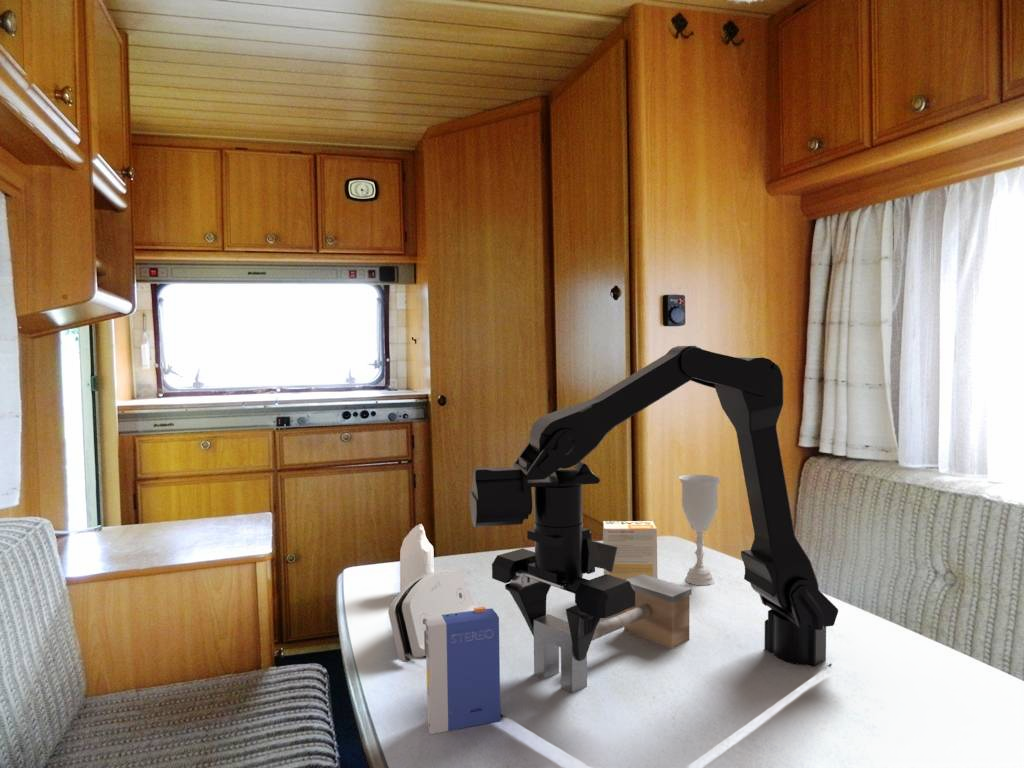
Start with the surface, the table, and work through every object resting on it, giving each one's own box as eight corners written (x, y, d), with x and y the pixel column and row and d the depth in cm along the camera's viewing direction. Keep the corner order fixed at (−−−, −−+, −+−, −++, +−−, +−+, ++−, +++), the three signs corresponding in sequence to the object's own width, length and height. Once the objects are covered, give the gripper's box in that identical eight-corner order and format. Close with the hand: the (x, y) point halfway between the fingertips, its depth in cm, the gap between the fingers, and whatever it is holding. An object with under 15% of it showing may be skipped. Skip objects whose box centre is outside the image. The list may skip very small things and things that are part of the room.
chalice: (670, 577, 121) (670, 476, 120) (700, 571, 124) (701, 473, 123) (698, 590, 114) (698, 483, 113) (729, 583, 117) (729, 480, 116)
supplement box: (654, 600, 110) (654, 520, 109) (658, 612, 105) (657, 528, 104) (603, 599, 110) (602, 519, 110) (604, 610, 106) (603, 527, 105)
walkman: (493, 708, 77) (492, 604, 76) (500, 721, 74) (499, 613, 74) (424, 721, 75) (422, 613, 74) (429, 734, 72) (427, 623, 71)
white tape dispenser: (431, 667, 87) (407, 591, 88) (401, 673, 89) (378, 599, 90) (486, 619, 103) (465, 555, 104) (460, 625, 104) (440, 562, 105)
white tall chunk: (391, 524, 113) (418, 518, 117) (393, 595, 113) (419, 586, 117) (414, 530, 109) (441, 523, 113) (415, 604, 109) (442, 595, 113)
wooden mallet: (641, 628, 99) (641, 573, 98) (691, 646, 92) (691, 588, 92) (555, 666, 87) (555, 605, 87) (605, 690, 81) (605, 624, 80)
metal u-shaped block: (587, 686, 80) (586, 629, 80) (572, 693, 78) (571, 635, 78) (548, 667, 85) (548, 613, 84) (534, 674, 83) (533, 619, 83)
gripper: (664, 523, 79) (665, 655, 80) (551, 498, 93) (552, 611, 94) (601, 542, 72) (602, 687, 72) (488, 512, 85) (490, 634, 86)
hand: (560, 650), depth 81 cm, fingers closed on metal u-shaped block, 6 cm apart
